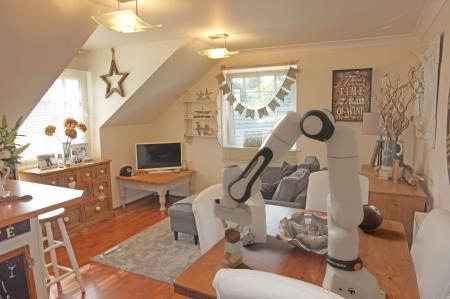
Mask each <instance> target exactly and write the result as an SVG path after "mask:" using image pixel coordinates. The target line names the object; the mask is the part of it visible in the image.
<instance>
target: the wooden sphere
mask: <svg viewBox="0 0 450 299" xmlns="http://www.w3.org/2000/svg"><path fill="white" fill-rule="evenodd" d="M363 212H364V218H363V221H362V222H361V224H360V225H358V226H357V228H359V229H360V230H361V231H364V232H368V233H370V232H371V233H372V232H374V231H376V230H378V229H380V228H381V227H382V225H383V220H384V219H383V218H384V216H383V214H382V212H381V210H380V209H379V208H377V207H376V206H374V205H372V204H363Z"/></svg>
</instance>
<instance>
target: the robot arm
mask: <svg viewBox="0 0 450 299" xmlns="http://www.w3.org/2000/svg"><path fill="white" fill-rule="evenodd" d="M303 135H304V136H305V137H306V138H308V139H311V140H315V141H319V142H322V143H325V145H326V164H327V165H326V167H327V168H326V169H327V170H326V171H327V181H328V189H329V191H328V194H327V198H326V215H327V216H326V219H327V220H326V221H327V251H326V255H325V256H326V257H325V262H326V263H325V264H326V269H325V270H326V271H325V275H324V279H323V282H322V288H323V289H324V288H325V289H328V290H330V291H332V292H334V293H336V294H338V295H341V296H342V297H345V298H346V299H386V293H385V291H384V290H382V289H381V288H380V286H379V281H378V279H377V278H376V277H375V276H374V275H373V274H372V273H371V272H370V271H369V270H367V269H366V268H365V267H364V262H365V258H361V257H360V255H359V239H360V237H359V230H358V227H357V226H358V225H360V224H361V222H362V221H363V218H364V212H363V205H364V204H363V195H362V188H361V180H360V164H359V163H360V162H359V161H360V160H359V145H358V139H357V135H356V132H355V130H354V128H353V127H351V126H348V125H344V124H343V125H339V124H337V120H336V116H335V115H334V114H333V112H332V111H331V110H329V109H327V108H320V107H319V108H313V109H310V110H307V111H306V112H305V113H304V114H300V113H298V112H297V111H293V110H290V111H289V110H288V111H286V112H285V113H283V114H282V115H281V117H280V118H279V119H278V120H277V121H276V122H275V123H274V125H273V126H272V128H271V129H270V130H269V132H268V133H267V135H266V137H265V139H264V140H263V142H262V144H261V145H260V147H259V149H258V150H257V151H256V153H255V155H254V157H253V158H252V159H251V160H250V161H249V162H248V165H246V167H245V168H244V169H243V168H242V167H241V166H240V165H238V164H231V165H227V166H225V167H223V168H222V170H221V177H220V179H221V181H220V182H221V188H222V192H221V195H220V196H218V197H215V198H213V203H214V205H213V214H214V217H215V218H218V219H220V222H221V224H222V229H225V230H227V229H229V228H228V223H227V222H226V221H228V222H232V223H235V224H238V225H239V226H240V228H237V229H238V231H239V233H240V234H241V233H243V232H244V231H243V229H244V227H245V226H248V225H250V224H251V223H252V214H251V208H250V207H249V206H248V204H245V202H246V201H247V200H248V199H249V198H251V197H252V196H254V195H255V194H256V193H258V192H259V191H260V192H261V190H262V188H263V181H262V179H261V177H260V176H261V175H262V174H263V172H264V171H265V170H266V169H267V168H268V167H269V166H270V165H272V164H273V163H275V162H277V161H279V160H280V159H282V158H284V157H285V156H286V155H287V154H288V153H289V152H291V149H292V148H294V146H295V144H296V143H297V141H298V140H299V139H300V138H301V137H302V136H303Z"/></svg>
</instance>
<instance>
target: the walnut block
mask: <svg viewBox="0 0 450 299" xmlns="http://www.w3.org/2000/svg"><path fill="white" fill-rule="evenodd" d="M238 229H239V228H236V227H233V226H232V227H229V228H226V229H225V230H224V242H225V241H227V242H229V243H232V244H234V243H236V242H238V241H240V234H241V233H239V231H238Z"/></svg>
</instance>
